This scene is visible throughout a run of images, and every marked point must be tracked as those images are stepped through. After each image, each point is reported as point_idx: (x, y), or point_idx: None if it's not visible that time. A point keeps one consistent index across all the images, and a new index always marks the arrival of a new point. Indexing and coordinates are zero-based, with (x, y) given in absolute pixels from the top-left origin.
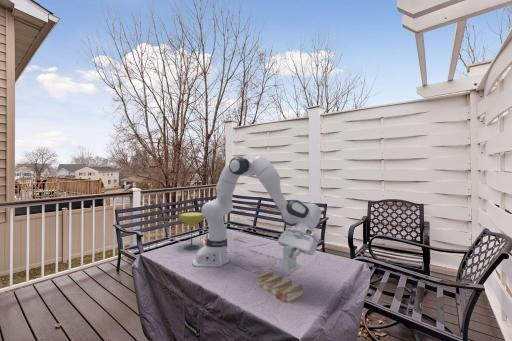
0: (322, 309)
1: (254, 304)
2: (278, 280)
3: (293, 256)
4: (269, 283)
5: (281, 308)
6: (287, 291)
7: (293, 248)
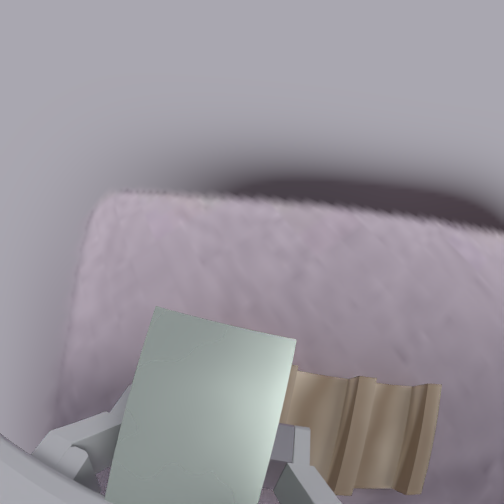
0: (64, 374)
1: (317, 248)
2: (336, 460)
3: (127, 391)
4: (352, 387)
5: (207, 288)
6: None
7: (120, 465)
